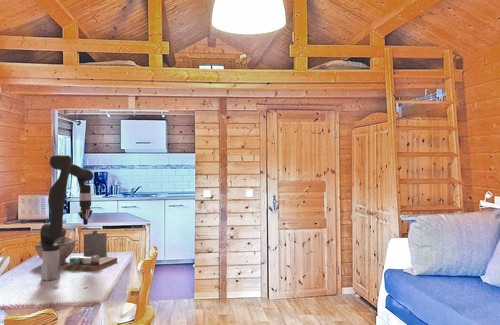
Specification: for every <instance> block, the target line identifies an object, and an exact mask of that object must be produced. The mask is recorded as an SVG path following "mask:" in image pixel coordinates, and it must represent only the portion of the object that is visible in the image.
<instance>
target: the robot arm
mask: <svg viewBox="0 0 500 325" xmlns="http://www.w3.org/2000/svg"><path fill="white" fill-rule="evenodd" d="M49 166H50V167H51V168H52V169H54V170H58V171H59V170H60V172H59V176H58V177H57V180H56V181H55V182H54V183H53V184H52V186H51V187H50V189H49V193H48V199H47V200H48V201H47V202H48V207H49V210H50V222H47V223H44V224H42V226H41V228H40V241H41V246H42V249H43V259H42V263H40V268H41V269H40V271H41V272H40V274H41V276H40V278H41V281H45V282H48V281H49V282H50V281H55V280H58V279H60V278H61V267H60V266H61V265H60V246H59V244H58V243H57V242H56V240H55V239H57V238H59V237H60V236H61V234H62V228H63V226H64V225H63V224H64V223H63V221H64V220H63V219H64V218H63V217H64V210H65V203H66V202H65V201H66V196H67V186H68V181H69V176H70V175H71V176H73V177H75V178H76V180H77V183H78V186H79V196H78V198H79V207H80V208H79V209H80V211H78V212H77V213H78V216H79V217H80V219H82V220H83V222H82V223H83V225H84V226H85V225H86V226H87V225H88V221H89V220H88V219H89V218H91V216H92V214H93V211H94V210H93V209H91V206H92V191H91V190H92V189H91V188H92V186H91V185H90V184H87V183H86V182H90V181H92V180H93V178H94V173H93V172H92V171H91V170H89V169H86V168H83V167H81V166H79V165H77V164H73V163H72V157H71V156H70V155H68V154H67V155H66V154H54V155H52V156H50V159H49Z"/></svg>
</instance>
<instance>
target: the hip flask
mask: <svg viewBox="0 0 500 325" xmlns="http://www.w3.org/2000/svg"><path fill="white" fill-rule="evenodd" d="M91 231H92V232H87V233H83V257H87V256H94V255H99V257H108V251H107V250H108V249H107V248H108V247H107V246H108V245H107V243H108V242H107V241H108V240H107V239H108V238H107V232H98V231H99V230H98V229H93V230H91Z"/></svg>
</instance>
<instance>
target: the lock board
mask: <svg viewBox="0 0 500 325" xmlns="http://www.w3.org/2000/svg"><path fill="white" fill-rule="evenodd" d="M87 257H91V256H87ZM113 263H114V264H117V263H118V257H110V256H109V257H108V256H106V257H99V264H98V265H91V264H80V258H69V262H67V263H64V264H62V265H63V270H65V271H67V270H68V271H78V272H79V271H80V272H81V271H82V272H97V271H100V270H102V269H105V268H106V267H108V266H111V265H113Z"/></svg>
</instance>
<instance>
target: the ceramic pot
mask: <svg viewBox="0 0 500 325" xmlns="http://www.w3.org/2000/svg"><path fill="white" fill-rule="evenodd" d="M66 233H67V228H65V227H62V234H61V236H60V237H59V238H57V239H55V240H56V242H57V243H58V244H59V246H60V266H61V265H65V264H66V259H67V258H69V256H70V255H71V254H72V253H73V251H74V248H75V245H76V244H75V243H76V241H75V240H74V239H72V238H70V237H68V236H66V235H67V234H66ZM34 248H35V251H36V254H37V255H38V256H39V258H40V259H42V260H43V249H42V246H41V240H40V241H38V242H37V243H36V244H35V247H34Z"/></svg>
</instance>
